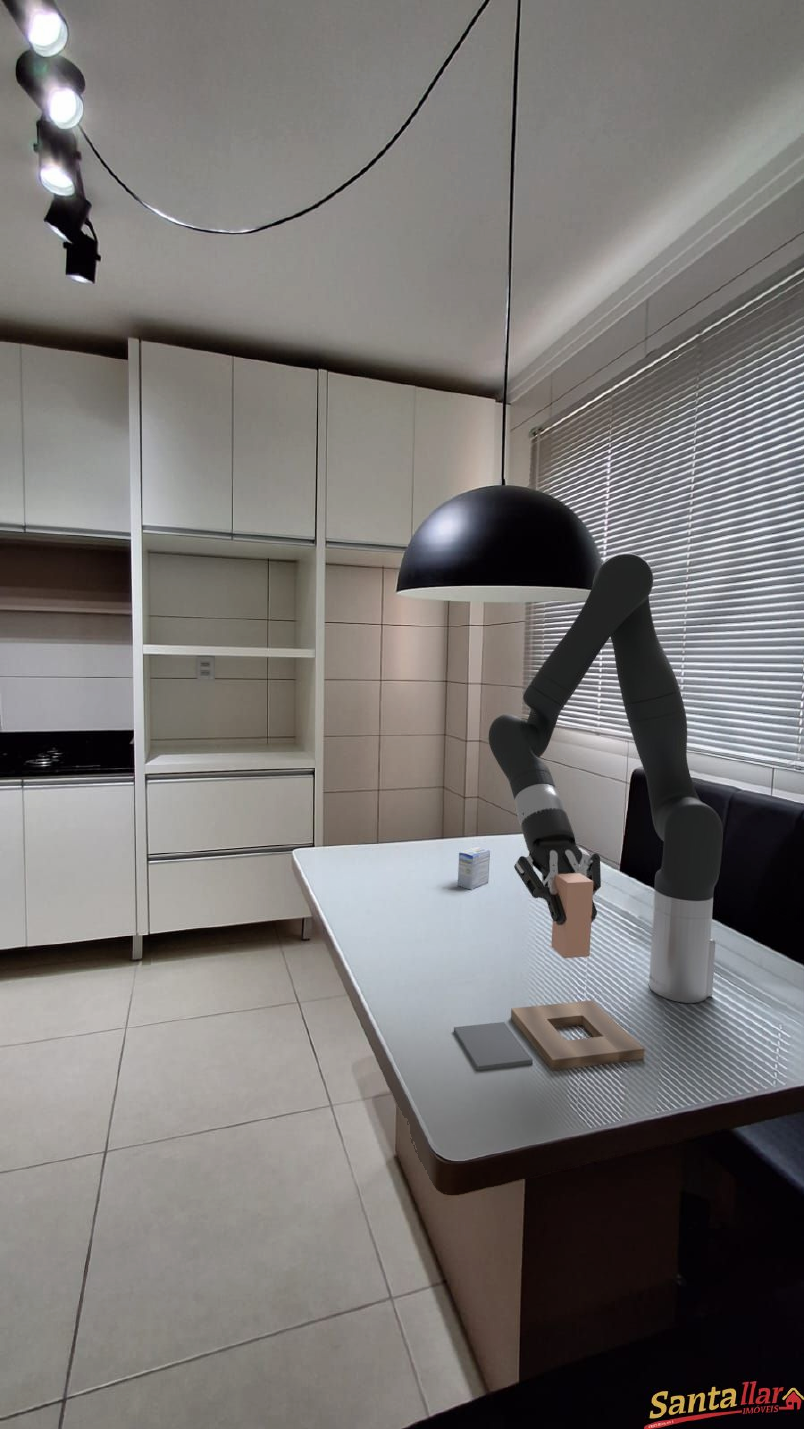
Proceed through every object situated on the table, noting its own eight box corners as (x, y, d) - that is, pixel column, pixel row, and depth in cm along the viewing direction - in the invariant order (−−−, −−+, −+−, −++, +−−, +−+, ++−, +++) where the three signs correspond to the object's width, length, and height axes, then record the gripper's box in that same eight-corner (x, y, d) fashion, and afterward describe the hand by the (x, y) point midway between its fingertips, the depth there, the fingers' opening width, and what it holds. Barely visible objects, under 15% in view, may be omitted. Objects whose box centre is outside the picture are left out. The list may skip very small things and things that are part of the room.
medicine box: (474, 879, 173) (475, 846, 173) (489, 882, 170) (490, 849, 170) (457, 886, 167) (458, 852, 166) (472, 890, 164) (473, 855, 164)
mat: (503, 1025, 101) (504, 1021, 101) (532, 1063, 92) (532, 1059, 91) (453, 1031, 99) (453, 1027, 99) (477, 1070, 90) (477, 1066, 90)
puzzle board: (592, 1009, 107) (592, 1000, 107) (643, 1058, 93) (644, 1048, 93) (510, 1017, 104) (511, 1008, 103) (552, 1070, 90) (553, 1059, 90)
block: (575, 945, 100) (579, 873, 99) (589, 956, 96) (593, 881, 95) (551, 946, 99) (555, 874, 98) (564, 958, 95) (568, 882, 94)
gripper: (509, 807, 102) (540, 913, 91) (592, 805, 106) (632, 907, 95) (494, 832, 108) (522, 935, 97) (574, 830, 111) (610, 929, 100)
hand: (576, 921), depth 96 cm, fingers closed on block, 4 cm apart
